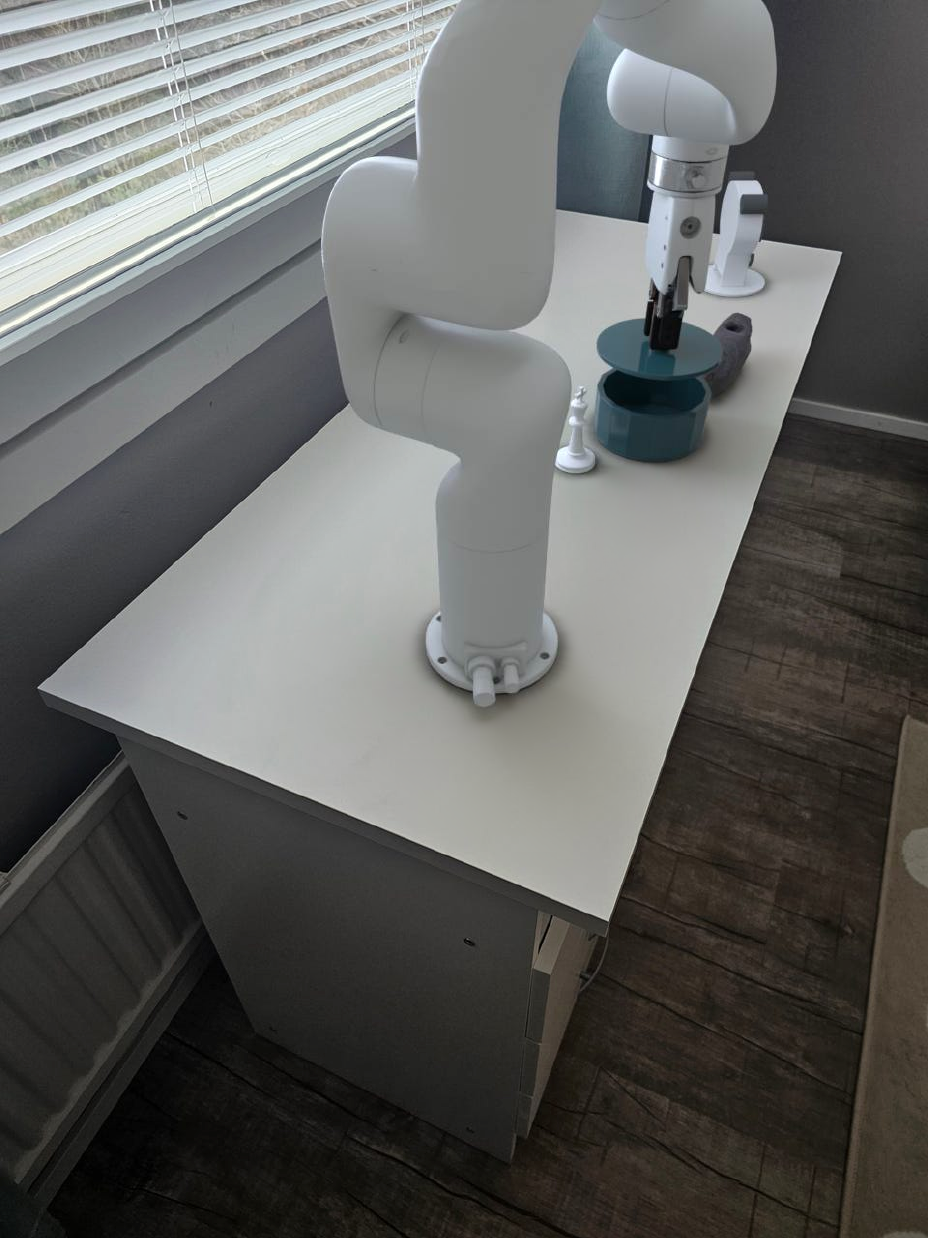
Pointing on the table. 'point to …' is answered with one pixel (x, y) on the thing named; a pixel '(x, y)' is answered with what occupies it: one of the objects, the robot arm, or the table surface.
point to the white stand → (738, 238)
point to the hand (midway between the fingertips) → (660, 340)
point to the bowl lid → (659, 351)
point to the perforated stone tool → (730, 351)
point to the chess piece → (576, 440)
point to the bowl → (650, 416)
